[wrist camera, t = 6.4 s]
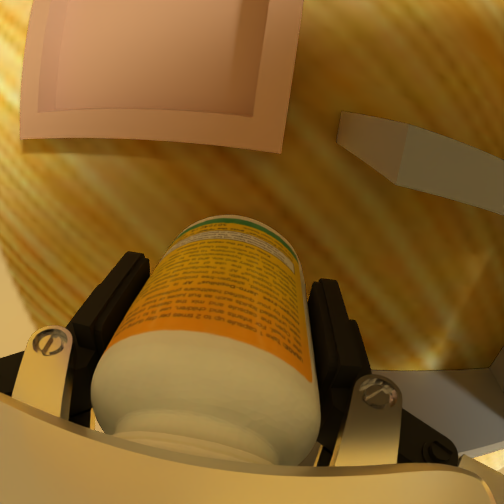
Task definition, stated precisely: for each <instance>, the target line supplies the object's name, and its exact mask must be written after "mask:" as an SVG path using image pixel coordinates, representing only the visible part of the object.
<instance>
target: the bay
mask: <svg viewBox="0 0 504 504" xmlns="http://www.w3.org/2000/svg"><path fill="white" fill-rule="evenodd" d="M336 143H338V144H339V145H341V146H342V147H344V148H345V149H346V150H348V151H349V152H351V153H352V154H354V155H355V156H357V157H358V158H359V159H361V160H362V161H364V162H365V163H367V164H368V165H369V166H371V167H372V168H373V169H375V170H376V171H378V172H379V173H380V174H382V175H383V176H384V177H386V178H387V179H388V180H390V181H391V182H392V183H394V184H395V185H398V186H402V187H406V188H410V189H414V190H418V191H422V192H426V193H430V194H433V195H437V196H441V197H444V198H448V199H452V200H455V201H459V202H462V203H465V204H469V205H472V206H475V207H479V208H482V209H485V210H488V211H491V212H494V213H497V214H500V215H503V216H504V160H502V159H500V158H498V157H496V156H494V155H491V154H489V153H487V152H484V151H482V150H480V149H477V148H475V147H472V146H470V145H467V144H465V143H462V142H459V141H457V140H454V139H451V138H449V137H446V136H443V135H440V134H438V133H435V132H432V131H429V130H426V129H423V128H420V127H417V126H413V125H410V124H406V123H402V122H398V121H393V120H388V119H383V118H378V117H373V116H368V115H362V114H357V113H351V112H345V111H342V112H341V117H340V123H339V129H338V134H337V140H336ZM371 372H372V374H376V375H382V376H384V377H387V378H389V379H390V380H392V381H393V382H394V383H395V384H396V385H397V386H398V387H399V389H400V391H401V393H402V408H403V409H405V410H406V411H408V412H409V413H411V414H412V415H414V416H415V417H417V418H418V419H420V420H421V421H423V422H424V423H426V424H427V425H429V426H430V427H432V428H433V429H435V430H436V431H438V432H440V433H441V434H443V435H444V436H446V437H447V438H448V439H450V440H451V441H452V442H453V443H454V445H455V446H456V448H457V451H458V455H459V456H462V455H463V454H465V455H467V456H469V457H471V458H474V457H478V456H482V455H485V454H488V453H492V452H495V451H498V450H501V449H504V346H503V348H502V350H501V351H500V353H499V354H498V356H497V357H496V359H495V360H494V362H493V363H492V365H491V366H490V368H481V369H465V370H439V371H380V370H371ZM320 445H321V444H320V443H319V442H317V441H316V443H315V444H314V446H313V448H312V450H311V451H310V453H309V454H308V455H307V457H306V458H305V459H304V460H303V461H302V462H301V463H300V464H298V465H297V466H314V463H315V460H316V457H317V454H318V451H319V448H320Z"/></svg>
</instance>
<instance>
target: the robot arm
mask: <svg viewBox="0 0 504 504" xmlns="http://www.w3.org/2000/svg"><path fill="white" fill-rule="evenodd" d="M149 277H150V265H149V259H148V258H145V256H144V254H142V253H136V252H129V251H128V252H127V253H126V254H125V255H124V256H123V257H122V258H121V260H120V261H119V262H118V263H117V265H116V266H115V267H114V268H113V269H112V271H111V272H110V273H109V274H108V276H107V277H106V278H105V279H104V281H103V282H102V283H101V284H99V285H98V286H97V287H96V288H95V290H94V291H93V292H92V293H91V295H90V296H89V297H88V299H87V300H86V301H85V302H84V304H83V305H82V306H81V308H80V309H79V310H78V312H77V313H76V314H75V316H74V317H73V318H72V320H71V321H70V322H69V324H68V325H67V326H66V328H64V327H62V326H57V325H51V326H46V327H42V328H40V329H38V330H37V331H35V332H34V333H33V334H32V335H31V337H30V339H29V340H28V343H27V346H26V349H25V351H22V352H19V353H16V354H12V355H10V356H6V357H3V358H0V504H504V475H503V474H501V473H500V472H498V471H496V470H494V469H492V468H490V467H488V466H486V465H484V464H482V463H480V462H478V461H476V460H475V459H473V458H471V457H469V456H467V455H465V454H463V455H462V456H459V455H458V451H457V448H456V446H455V445H454V443H453V442H452V441H451V440H450V439H448V438H447V437H446V436H444V435H443V434H441V433H440V432H438V431H436V430H435V429H433V428H432V427H430V426H429V425H427V424H426V423H424V422H423V421H421V420H420V419H418V418H417V417H415V416H414V415H412V414H411V413H409V412H408V411H406V410H405V409H403V408H402V393H401V391H400V389H399V387H398V386H397V385H396V384H395V383H394V382H393V381H392V380H390V379H389V378H387V377H384V376H382V375H376V374H372V372H371V368H370V364H369V361H368V358H367V354H366V351H365V347H364V344H363V341H362V338H361V334H360V331H359V328H358V325H357V322H356V321H355V320H350V319H349V318H348V315H347V312H346V308H345V305H344V302H343V298H342V295H341V292H340V288H339V285H338V282H337V281H336V280H330V279H322V278H321V279H320V280H319V282H314V283H313V285H312V289H311V293H310V296H309V300H308V310H309V318H310V326H311V334H312V342H313V348H314V357H315V366H316V373H317V381H318V390H319V399H320V412H321V423H320V430H319V434H318V437H317V440H316V441H317V442H319V443H320V444H321V445H320V448H319V451H318V454H317V457H316V460H315V463H314V466H283V465H268V464H256V463H246V462H237V461H229V460H221V459H214V458H208V457H202V456H196V455H190V454H185V453H180V452H175V451H170V450H165V449H161V448H156V447H152V446H148V445H144V444H140V443H136V442H133V441H129V440H125V439H122V438H118V437H115V436H111V435H108V434H105V433H102V432H99V431H96V430H95V414H94V411H93V407H92V403H91V383H92V378H93V374H94V371H95V369H96V367H97V364H98V362H99V360H100V359H101V357H102V355H103V353H104V351H105V350H106V348H107V346H108V345H109V343H110V341H111V339H112V338H113V336H114V334H115V332H116V330H117V329H118V327H119V325H120V324H121V322H122V320H123V319H124V317H125V315H126V314H127V312H128V310H129V309H130V307H131V305H132V304H133V302H134V301H135V299H136V298H137V296H138V295H139V293H140V291H141V290H142V288H143V287H144V285H145V284H146V282H147V280H148V279H149Z"/></svg>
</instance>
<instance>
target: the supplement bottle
mask: <svg viewBox="0 0 504 504" xmlns="http://www.w3.org/2000/svg"><path fill="white" fill-rule="evenodd" d="M91 403H92V407H93V411H94V414H95V416H96V419H97V421H98V423H99V425H100V426H101V428H102V430H103V431H104V433H105V434H108V435H111V436H115V437H118V438H122V439H125V440H129V441H133V442H136V443H140V444H144V445H148V446H152V447H156V448H161V449H165V450H170V451H175V452H180V453H185V454H190V455H196V456H202V457H208V458H214V459H221V460H229V461H237V462H246V463H256V464H268V465H283V466H297V465H298V464H300V463H301V462H302V461H303V460H304V459H305V458H306V457H307V455H308V454H309V453H310V451H311V450H312V448H313V446H314V444H315V443H316V440H317V437H318V434H319V430H320V423H321V412H320V399H319V390H318V381H317V373H316V366H315V357H314V348H313V342H312V334H311V326H310V318H309V310H308V303H307V296H306V286H305V282H304V276H303V271H302V266H301V263H300V260H299V258H298V256H297V254H296V252H295V251H294V249H293V247H292V246H291V244H290V243H289V242H288V241H287V240H286V239H285V238H284V237H283V236H282V235H280V234H279V233H278V232H277V231H275V230H274V229H272V228H271V227H269V226H267V225H265V224H264V223H262V222H260V221H257V220H255V219H252V218H249V217H244V216H239V215H217V216H212V217H208V218H205V219H202V220H200V221H197V222H195V223H193V224H191V225H190V226H188V227H187V228H186V229H185V230H183V231H182V232H181V233H180V234H179V235H178V236H177V238H176V239H175V240H174V241H173V243H172V244H171V245H170V247H169V248H168V250H167V251H166V253H165V254H164V256H163V257H162V259H161V260H160V262H159V263H158V265H157V266H156V268H155V269H154V271H153V273H152V274H151V276H150V277H149V279H148V280H147V282H146V284H145V285H144V287H143V288H142V290H141V291H140V293H139V295H138V296H137V298H136V299H135V301H134V302H133V304H132V305H131V307H130V309H129V310H128V312H127V314H126V315H125V317H124V319H123V320H122V322H121V324H120V325H119V327H118V329H117V330H116V332H115V334H114V336H113V338H112V339H111V341H110V343H109V345H108V346H107V348H106V350H105V351H104V353H103V355H102V357H101V359H100V360H99V362H98V364H97V367H96V369H95V371H94V374H93V378H92V383H91Z"/></svg>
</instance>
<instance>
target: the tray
mask: <svg viewBox="0 0 504 504" xmlns="http://www.w3.org/2000/svg"><path fill="white" fill-rule="evenodd" d="M303 2H304V0H34V1H33V6H32V11H31V16H30V21H29V26H28V32H27V39H26V46H25V53H24V62H23V72H22V84H21V101H20V139H41V138H117V139H141V140H159V141H173V142H185V143H197V144H207V145H217V146H226V147H234V148H242V149H250V150H257V151H264V152H271V153H278V154H281V151H282V144H283V138H284V131H285V125H286V118H287V112H288V105H289V99H290V92H291V85H292V78H293V72H294V65H295V58H296V51H297V44H298V37H299V30H300V23H301V16H302V9H303Z"/></svg>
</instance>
